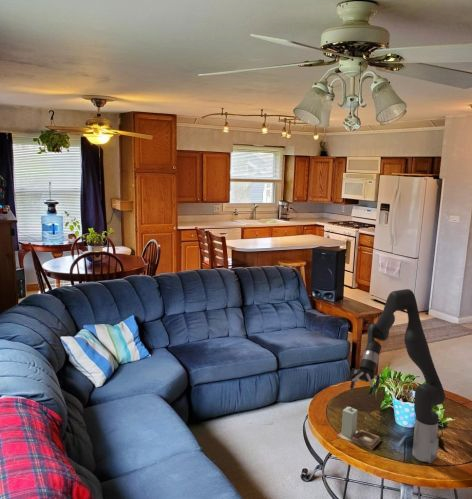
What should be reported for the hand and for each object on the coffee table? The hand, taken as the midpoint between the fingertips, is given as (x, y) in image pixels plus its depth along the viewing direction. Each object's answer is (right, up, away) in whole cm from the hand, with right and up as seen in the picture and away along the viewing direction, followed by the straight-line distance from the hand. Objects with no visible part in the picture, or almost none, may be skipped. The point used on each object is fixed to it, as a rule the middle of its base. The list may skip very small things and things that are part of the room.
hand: (360, 392), depth 219 cm
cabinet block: (-7, -18, -6) cm, 20 cm away
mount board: (-3, -19, -9) cm, 22 cm away
